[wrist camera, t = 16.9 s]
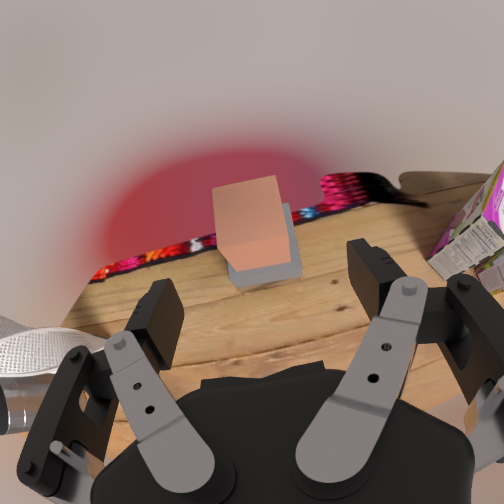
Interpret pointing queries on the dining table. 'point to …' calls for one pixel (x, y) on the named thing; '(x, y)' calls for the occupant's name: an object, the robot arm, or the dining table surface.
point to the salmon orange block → (251, 224)
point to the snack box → (492, 274)
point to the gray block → (273, 271)
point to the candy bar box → (473, 230)
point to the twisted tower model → (39, 347)
